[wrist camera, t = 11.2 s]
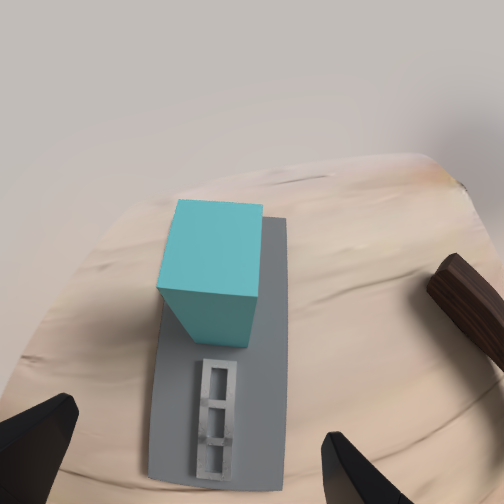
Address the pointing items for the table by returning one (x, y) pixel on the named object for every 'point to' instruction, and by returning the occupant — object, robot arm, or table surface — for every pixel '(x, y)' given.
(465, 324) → the hammer
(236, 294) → the teal block
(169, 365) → the rubber mat
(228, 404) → the steel chain
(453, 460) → the table surface
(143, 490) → the table surface
